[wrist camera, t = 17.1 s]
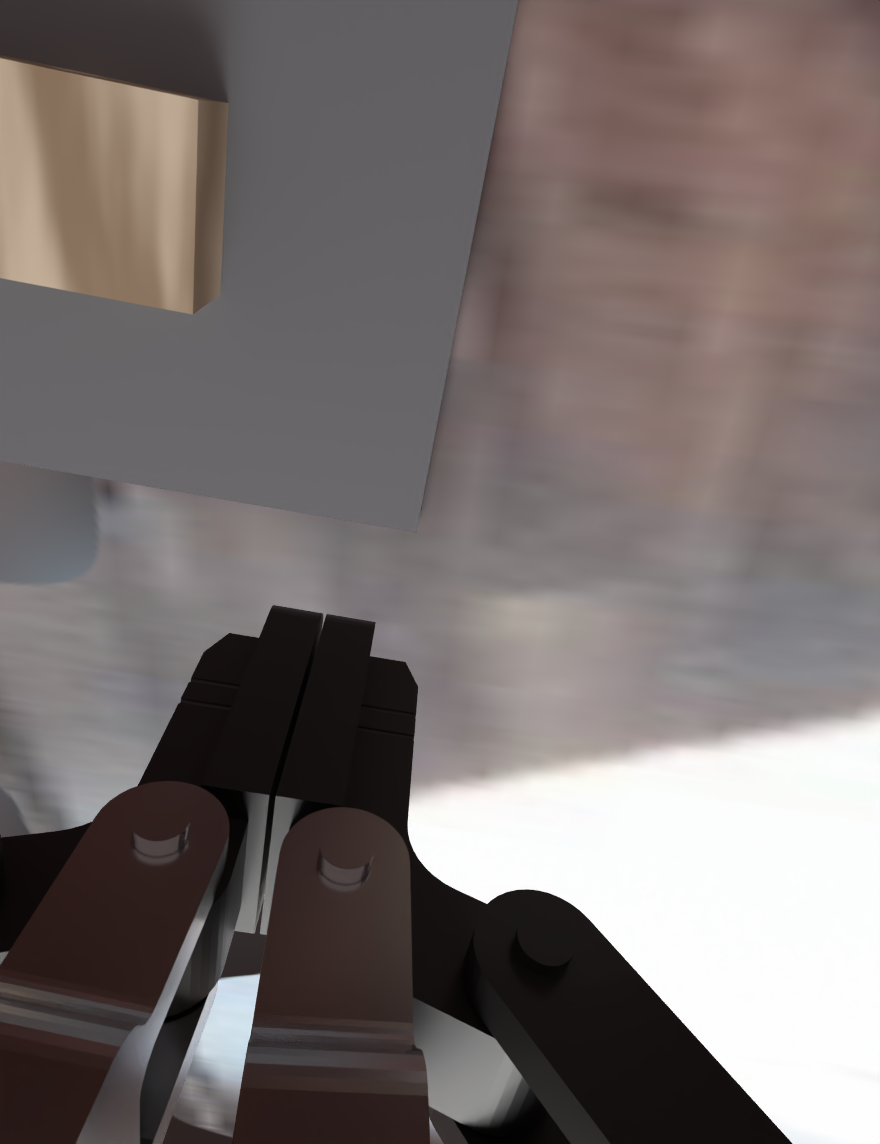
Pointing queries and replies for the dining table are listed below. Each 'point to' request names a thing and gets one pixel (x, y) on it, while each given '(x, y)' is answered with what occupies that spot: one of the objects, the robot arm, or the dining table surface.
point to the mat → (275, 254)
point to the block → (110, 187)
